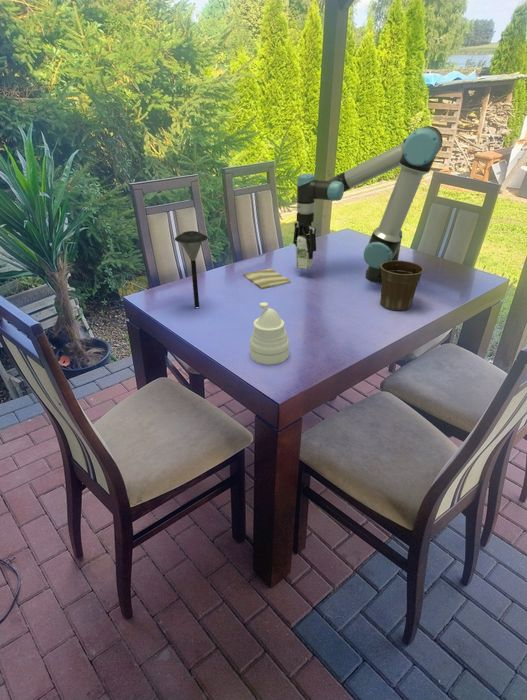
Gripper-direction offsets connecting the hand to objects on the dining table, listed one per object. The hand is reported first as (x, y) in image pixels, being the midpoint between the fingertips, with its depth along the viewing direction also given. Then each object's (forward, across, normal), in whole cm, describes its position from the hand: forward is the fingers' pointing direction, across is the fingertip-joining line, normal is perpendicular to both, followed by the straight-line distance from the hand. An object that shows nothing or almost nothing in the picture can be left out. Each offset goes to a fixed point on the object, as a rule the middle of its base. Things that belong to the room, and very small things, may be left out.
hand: (303, 262), depth 204 cm
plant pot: (+8, +44, +16) cm, 48 cm away
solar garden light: (+6, +8, -56) cm, 57 cm away
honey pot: (+7, +53, -48) cm, 72 cm away
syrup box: (+2, 0, 0) cm, 2 cm away
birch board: (+6, -4, -17) cm, 19 cm away
